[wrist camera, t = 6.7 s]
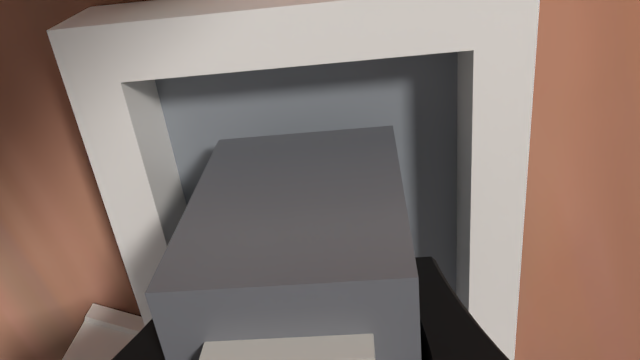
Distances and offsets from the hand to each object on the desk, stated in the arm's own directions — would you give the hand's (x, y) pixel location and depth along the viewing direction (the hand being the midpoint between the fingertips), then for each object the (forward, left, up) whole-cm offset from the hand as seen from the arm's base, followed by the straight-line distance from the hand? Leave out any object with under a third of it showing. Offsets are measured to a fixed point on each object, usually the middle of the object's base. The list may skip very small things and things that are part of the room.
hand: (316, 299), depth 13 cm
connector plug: (0, 0, -2) cm, 2 cm away
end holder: (0, 0, -3) cm, 3 cm away
